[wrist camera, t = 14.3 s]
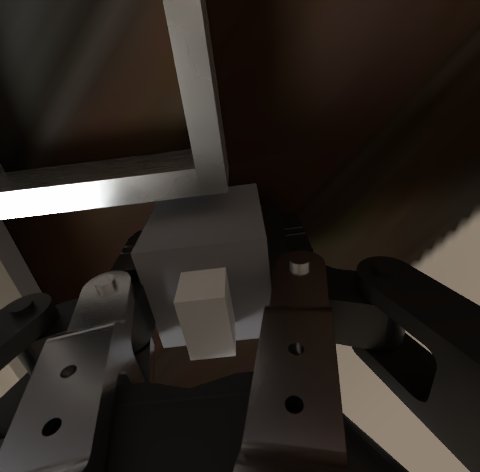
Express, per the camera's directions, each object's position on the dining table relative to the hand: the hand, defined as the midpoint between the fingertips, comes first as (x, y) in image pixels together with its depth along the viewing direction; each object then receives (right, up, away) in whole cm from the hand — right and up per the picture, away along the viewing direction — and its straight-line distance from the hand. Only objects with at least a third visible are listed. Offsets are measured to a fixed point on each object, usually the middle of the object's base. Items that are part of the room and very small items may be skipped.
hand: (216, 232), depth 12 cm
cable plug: (0, 0, 0) cm, 0 cm away
